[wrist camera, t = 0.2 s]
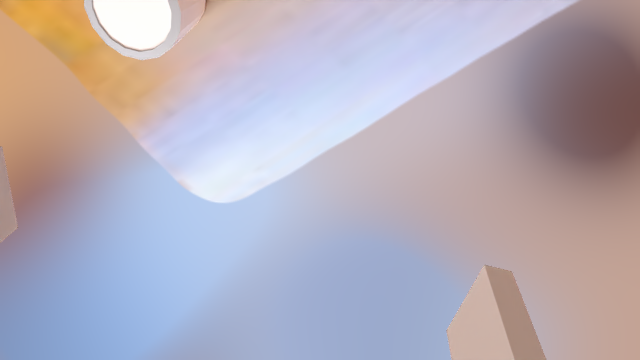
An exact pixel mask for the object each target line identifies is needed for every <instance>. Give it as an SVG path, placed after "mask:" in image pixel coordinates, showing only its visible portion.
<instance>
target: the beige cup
mask: <svg viewBox="0 0 640 360" xmlns="http://www.w3.org/2000/svg"><path fill="white" fill-rule="evenodd" d="M205 3H206V0H84V7H85V10H86V12H87V15H88V17H89V19H90V22H91V24H92V27H93V28H94V29H95V31H96V32H97V33H98V34H99V36H100V37H101V38H102V39H103V40H104V42H105V43H106V44H107V45H109V46H110V47H112V48H113V49H115V50H116V51H118V52H119V53H121V54H122V55H124V56H128V57H132V58H135V59H139V60H146V59H152V58H159V57H160V56H161V55H163V54H164V53H166V52H167V51H168V50H170V49H171V48H172V47H173V46H175V45H176V44H177V43H178V42H179V41H180V40H181V39H182V38H183V37H184V36H185V35H186V34H187V33H188V32H189V31H190V30H191V29H192V28H193V27H194V26H195V25H196V24H197V23H198V22H199V21H200V19H201V17H202V15H203V13H204V11H205Z"/></svg>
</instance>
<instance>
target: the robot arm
mask: <svg viewBox="0 0 640 360" xmlns="http://www.w3.org/2000/svg"><path fill="white" fill-rule="evenodd" d="M17 228H18V225H17V220H16V215H15V210H14V205H13V199H12V195H11V189H10V185H9V179H8V174H7V169H6V164H5V159H4V154H3V149H2V147H1V146H0V243H1V242H2V241H3V240H4V239H5V238H6V237H8V236H9V235H10V234H11V233H12V232H13V231H15V230H16V229H17ZM447 336H448V342H449V347H450V353H451V358H452V360H546V358H545V355H544V353H543V350H542V348H541V345H540V342H539V340H538V337H537V335H536V332H535V330H534V327H533V324H532V322H531V319H530V317H529V314H528V312H527V309H526V306H525V304H524V301H523V299H522V296H521V294H520V291H519V289H518V286H517V284H516V281H515V278H514V276H513V273H512V272H511V271H508V270H504V269H500V268H496V267H492V266H487V265H484V266H483V268H482V270H481V272H480V273H479V275H478V277H477V278H476V280H475V282H474V284H473V285H472V287H471V289H470V291H469V292H468V294H467V296H466V298H465V299H464V301H463V303H462V305H461V306H460V308H459V310H458V312H457V313H456V315H455V317H454V319H453V320H452V322H451V324H450V326H449V327H448V329H447Z"/></svg>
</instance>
